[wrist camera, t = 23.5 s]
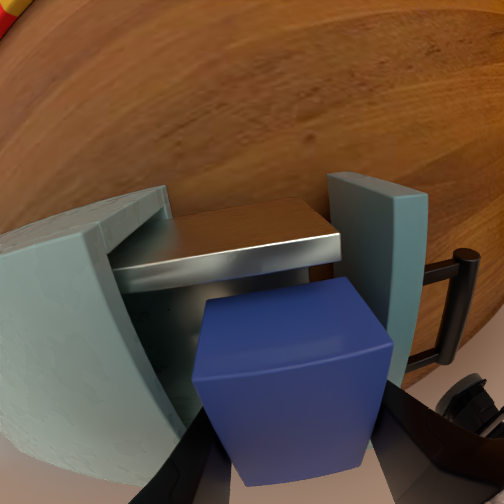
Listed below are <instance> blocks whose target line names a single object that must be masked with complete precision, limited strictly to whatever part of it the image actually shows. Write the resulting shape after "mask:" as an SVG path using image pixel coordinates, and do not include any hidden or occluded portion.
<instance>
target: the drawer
mask: <svg viewBox="0 0 504 504" xmlns="http://www.w3.org/2000/svg"><path fill="white" fill-rule="evenodd" d="M327 184H328V194H329V205H330V217H331V224H330V223H329V222H328V221H326V220H325V219H324V218H323V217H322V216H321V215H320V214H318V213H317V212H316V211H315V210H314V209H313V208H311V207H310V206H309V205H308V204H307V203H305V202H304V201H303V200H301V199H300V198H299V197H295V198H288V199H281V200H274V201H267V202H261V203H255V204H248V205H242V206H236V207H230V208H224V209H219V210H213V211H207V212H202V213H196V214H191V215H186V216H181V217H175V218H170V219H165V220H160V221H155V222H151V223H146V224H142V225H141V226H139V227H138V228H137V229H136V230H135V231H134V232H132V233H131V234H130V235H129V236H128V237H127V238H125V239H124V240H123V241H122V242H121V243H120V244H119V245H117V246H116V247H115V248H114V249H113V250H112V251H111V252H110V253H109V254H107V257H108V260H109V263H110V266H111V269H112V272H113V275H114V278H115V281H116V283H117V286H118V289H119V292H120V294H121V297H122V300H123V302H124V305H125V307H126V310H127V312H128V315H129V317H130V320H131V322H132V324H133V327H134V329H135V331H136V334H137V336H138V338H139V340H140V343H141V345H142V347H143V349H144V351H145V353H146V356H147V358H148V360H149V362H150V364H151V366H152V368H153V370H154V372H155V374H156V376H157V378H158V380H159V382H160V384H161V385H162V387H163V389H164V391H165V393H166V395H167V397H168V398H169V400H170V402H171V404H172V406H173V407H174V409H175V411H176V412H177V414H178V416H179V418H180V419H181V421H182V423H183V424H184V426H185V428H186V429H188V427H189V426H190V424H191V423H192V421H193V420H194V418H195V417H196V415H197V414H198V412H199V411H200V409H201V408H202V406H203V405H202V403H201V401H200V399H199V396H198V394H197V392H196V390H195V387H194V385H193V383H192V381H191V378H192V373H193V367H194V361H195V356H196V350H197V345H198V340H199V334H200V329H201V324H202V319H203V314H204V309H205V304H206V300H208V299H213V298H220V297H227V296H234V295H240V294H247V293H253V292H260V291H266V290H272V289H278V288H284V287H290V286H296V285H301V284H307V283H310V270H309V266H315V265H321V264H327V263H332V262H333V271H334V278H339V277H347V279H348V280H349V281H350V283H351V284H352V285H353V286H354V288H355V289H356V290H357V292H358V293H359V294H360V296H361V297H362V299H363V300H364V301H365V303H366V304H367V305H368V307H369V308H370V309H371V311H372V312H373V314H374V315H375V316H376V318H377V319H378V320H379V322H380V323H381V325H382V326H383V327H384V329H385V330H386V332H387V333H388V335H389V336H390V337H391V339H392V340H393V342H394V348H393V353H392V358H391V363H390V368H389V373H388V377H387V379H388V380H389V381H391V382H392V383H394V384H395V385H396V386H398V387H399V388H400V387H401V383H402V380H403V377H404V374H406V373H408V372H411V371H414V370H416V369H419V368H422V367H424V366H427V365H429V364H432V363H434V362H436V363H437V364H439V365H449V364H451V363H452V362H453V360H454V359H455V356H456V353H457V350H458V347H459V344H460V341H461V338H462V335H463V332H464V329H465V325H466V322H467V318H468V315H469V311H470V307H471V303H472V299H473V295H474V290H475V286H476V281H477V276H478V271H479V265H480V259H481V257H480V254H479V253H478V252H476V251H474V250H472V249H468V248H459V249H456V250H454V252H453V258H452V259H448V260H444V261H440V262H436V263H432V264H428V265H425V258H426V245H427V228H428V194H427V193H424V192H421V191H418V190H415V189H412V188H408V187H405V186H402V185H398V184H395V183H392V182H388V181H385V180H381V179H377V178H374V177H370V176H366V175H362V174H358V173H354V172H350V171H348V172H338V173H328V174H327ZM448 278H450V279H449V285H448V291H447V296H446V301H445V306H444V311H443V315H442V319H441V324H440V328H439V331H438V335H437V339H436V343H435V346H434V348H431V349H429V350H426V351H423V352H420V353H418V354H415V355H412V356H409V354H410V350H411V345H412V341H413V336H414V332H415V327H416V322H417V316H418V311H419V305H420V299H421V292H422V286H424V285H428V284H431V283H435V282H438V281H442V280H445V279H448ZM371 448H373V445H372V443H371V440H369V443H368V446H367V449H371ZM367 449H366V450H367ZM232 464H233V463H232Z"/></svg>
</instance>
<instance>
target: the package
mask: <svg viewBox="0 0 504 504" xmlns="http://www.w3.org/2000/svg"><path fill="white" fill-rule="evenodd" d="M393 348H394V342H393V340H392V339H391V337H390V336H389V335H388V333H387V332H386V330H385V329H384V327H383V326H382V325H381V323H380V322H379V320H378V319H377V318H376V316H375V315H374V314H373V312H372V311H371V309H370V308H369V307H368V305H367V304H366V303H365V301H364V300H363V299H362V297H361V296H360V294H359V293H358V292H357V290H356V289H355V288H354V286H353V285H352V284H351V283H350V281H349V280H348V279H347V277H339V278H334V279H329V280H323V281H318V282H313V283H307V284H301V285H296V286H290V287H284V288H278V289H272V290H266V291H260V292H253V293H247V294H240V295H234V296H227V297H220V298H213V299H208V300H206V304H205V309H204V314H203V319H202V324H201V329H200V334H199V340H198V345H197V350H196V356H195V361H194V367H193V373H192V378H191V381H192V383H193V385H194V387H195V390H196V392H197V394H198V396H199V399H200V401H201V403H202V405H203V407H204V409H205V411H206V413H207V415H208V418H209V420H210V422H211V424H212V426H213V428H214V430H215V432H216V434H217V436H218V437H219V439H220V441H221V443H222V445H223V447H224V449H225V451H226V453H227V454H228V456H229V458H230V460H231V462H232V463H233V465H234V467H235V469H236V470H237V472H238V474H239V476H240V477H241V479H242V481H243V482H244V484H245V486H247V487H250V486H262V485H271V484H279V483H286V482H293V481H299V480H305V479H310V478H315V477H320V476H325V475H329V474H333V473H337V472H341V471H344V470H348V469H352V468H355V467H359V466H360V465H361V462H362V460H363V457H364V454H365V452H366V449H367V446H368V443H369V440H370V437H371V434H372V431H373V428H374V425H375V422H376V418H377V415H378V412H379V408H380V405H381V401H382V397H383V393H384V389H385V385H386V381H387V377H388V373H389V368H390V363H391V358H392V353H393Z"/></svg>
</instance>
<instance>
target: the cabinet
mask: <svg viewBox="0 0 504 504" xmlns="http://www.w3.org/2000/svg"><path fill="white" fill-rule="evenodd" d="M170 218H173V216H172V212H171V207H170V203H169V198H168V193H167V189H166V185H161V186H156V187H152V188H148V189H144V190H140V191H136V192H132V193H128V194H124V195H120V196H116V197H113V198H109V199H106V200H102V201H98V202H95V203H92V204H88V205H85V206H82V207H78V208H75V209H72V210H69V211H66V212H62V213H59V214H56V215H53V216H50V217H48V218H45V219H42V220H39V221H36V222H33V223H31V224H28V225H25V226H22V227H20V228H17V229H14V230H12V231H9V232H7V233H4V234H2V235H0V432H1V433H2V434H3V435H4V436H5V437H6V438H7V439H8V440H9V441H10V442H11V443H12V444H13V445H14V446H15V447H16V448H17V449H18V450H19V451H21V452H23V453H25V454H27V455H30V456H32V457H34V458H37V459H39V460H42V461H44V462H47V463H50V464H53V465H56V466H58V467H61V468H64V469H67V470H70V471H73V472H77V473H80V474H84V475H88V476H91V477H95V478H99V479H103V480H108V481H112V482H117V483H122V484H127V485H133V486H139V487H145V486H146V485H147V484H148V482H149V481H150V480H151V479H152V478H153V477H154V476H155V474H156V473H157V472H158V471H159V469H160V468H161V467H162V465H163V464H164V463H165V461H166V460H167V458H168V457H170V454H171V453H172V451H173V450H174V448H175V447H176V445H177V444H178V442H179V441H180V439H181V438H182V436H183V435H184V433H185V432H186V430H187V429H186V428H185V426H184V424H183V423H182V421H181V419H180V418H179V416H178V414H177V412H176V411H175V409H174V407H173V406H172V404H171V402H170V400H169V398H168V397H167V395H166V393H165V391H164V389H163V387H162V385H161V384H160V382H159V380H158V378H157V376H156V374H155V372H154V370H153V368H152V366H151V364H150V362H149V360H148V358H147V356H146V353H145V351H144V349H143V347H142V345H141V343H140V340H139V338H138V336H137V334H136V331H135V329H134V327H133V324H132V322H131V320H130V317H129V315H128V312H127V310H126V307H125V305H124V302H123V300H122V297H121V294H120V292H119V289H118V286H117V283H116V281H115V278H114V275H113V272H112V269H111V266H110V263H109V260H108V257H107V254H109V253H110V252H111V251H112V250H113V249H114V248H115V247H116V246H117V245H119V244H120V243H121V242H122V241H123V240H124V239H125V238H127V237H128V236H129V235H130V234H131V233H132V232H134V231H135V230H136V229H137V228H138V227H139V226H141V225H142V224H146V223H151V222H155V221H160V220H165V219H170Z"/></svg>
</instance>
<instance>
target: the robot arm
mask: <svg viewBox="0 0 504 504" xmlns="http://www.w3.org/2000/svg"><path fill="white" fill-rule="evenodd" d="M486 382H487V380H486V379H483V380H481V381H480V382H478V383H476V384H475V385H473V386H471V387H469V388H467V389H466V390H464V391H462V392H460V393H458V394H456V395H455V396H454V397H453V398H452V399H451V401H450V403H449V405H448V407H447V409H446V411H445V413H444V414H443V416H441V415H439V414H437V413H436V412H434V411H433V410H431V409H429V408H428V407H427V406H425V405H424V404H422V403H421V402H420V401H418V400H417V399H415V398H414V397H412V396H411V395H409V394H408V393H406V392H405V391H404V390H402V389H401V388H399V387H398V386H396V385H395V384H394V383H392V382H391V381H389V380H388V379H387V381H386V385H385V389H384V393H383V397H382V401H381V405H380V408H379V412H378V415H377V418H376V422H375V425H374V428H373V431H372V434H371V437H370V440H371V443H372V445H373V448H374V450H375V453H376V455H377V458H378V460H379V462H380V465H381V468H382V470H383V473H384V475H385V478H386V480H387V483H388V486H389V489H390V491H391V494H392V496H393V499H394V502H396V503H395V504H504V422H503V421H502V420H503V419H504V406H503V407H502V408H501V410H500V411H498V409H497V408H496V406H495V405H494V401H493V400H492V398H491V397H490V396H489V394H488V393H487V392H486V390H485V389H484V386H485V384H486ZM231 465H232V462H231V460H230V458H229V456H228V454H227V453H226V451H225V449H224V447H223V445H222V443H221V441H220V439H219V437H218V436H217V434H216V432H215V430H214V428H213V426H212V424H211V422H210V420H209V418H208V415H207V413H206V411H205V409H204V407H203V406H202V408H201V409H200V411H199V412H198V414H197V415H196V417H195V418H194V420H193V421H192V423H191V424H190V426H189V427H188V429H187V430H186V432H185V433H184V435H183V436H182V438H181V439H180V441H179V442H178V444H177V445H176V447H175V448H174V450H173V451H172V453H171V454H170V457H168V458H167V460H166V461H165V463H164V464H163V465H162V467H161V468H160V469H159V471H158V472H157V473H156V474H155V476H154V477H153V478H152V479H151V480H150V481H149V482H148V484H147V485H146V486H145V487H144V488H143V489H142V490H141V491H140V492H139V493H138V494H137V495H136V496H135V497H134V498H133V499H132V500H131V501H130V502H129V503H128V504H229V496H230V480H231Z"/></svg>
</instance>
